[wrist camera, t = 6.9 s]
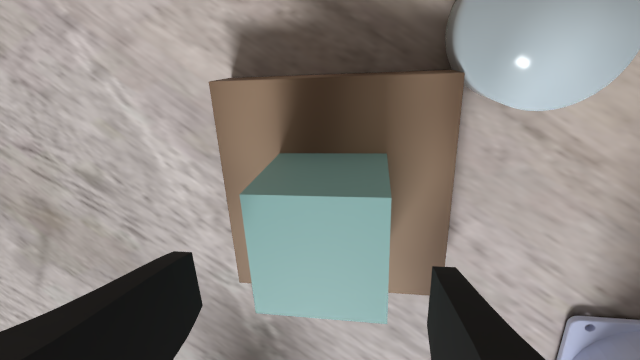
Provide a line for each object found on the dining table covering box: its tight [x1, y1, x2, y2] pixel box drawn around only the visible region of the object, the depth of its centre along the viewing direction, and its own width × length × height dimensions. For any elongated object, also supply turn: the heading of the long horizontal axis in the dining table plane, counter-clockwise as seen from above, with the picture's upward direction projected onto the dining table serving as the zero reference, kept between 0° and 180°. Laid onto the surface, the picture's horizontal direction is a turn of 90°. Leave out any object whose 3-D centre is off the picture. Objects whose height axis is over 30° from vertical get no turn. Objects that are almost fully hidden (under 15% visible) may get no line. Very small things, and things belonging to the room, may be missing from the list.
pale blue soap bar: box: [445, 0, 640, 111], centre depth 13 cm, size 6×6×4 cm
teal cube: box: [239, 153, 391, 324], centre depth 14 cm, size 5×5×5 cm
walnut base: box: [209, 70, 465, 295], centre depth 17 cm, size 11×11×2 cm
